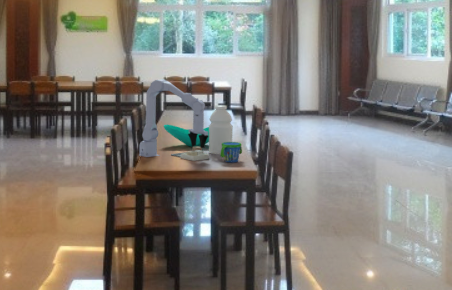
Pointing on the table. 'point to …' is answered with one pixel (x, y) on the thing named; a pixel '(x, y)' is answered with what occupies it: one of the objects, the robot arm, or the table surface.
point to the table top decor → (184, 134)
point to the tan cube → (196, 148)
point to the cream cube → (192, 153)
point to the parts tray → (179, 154)
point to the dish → (194, 157)
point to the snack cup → (231, 151)
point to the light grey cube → (199, 152)
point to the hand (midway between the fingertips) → (198, 146)
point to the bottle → (219, 129)
